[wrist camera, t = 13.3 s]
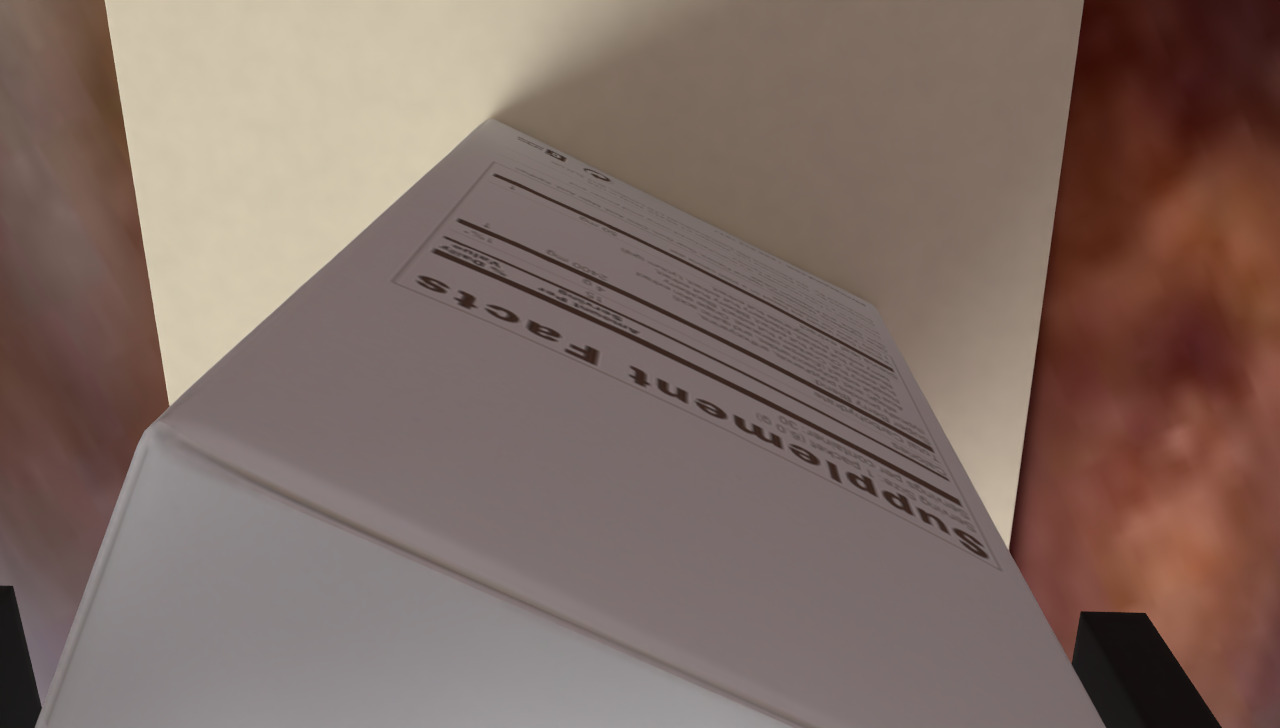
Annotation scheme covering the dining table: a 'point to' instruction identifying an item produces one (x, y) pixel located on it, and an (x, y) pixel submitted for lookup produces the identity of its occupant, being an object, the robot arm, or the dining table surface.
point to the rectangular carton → (556, 496)
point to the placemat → (627, 153)
